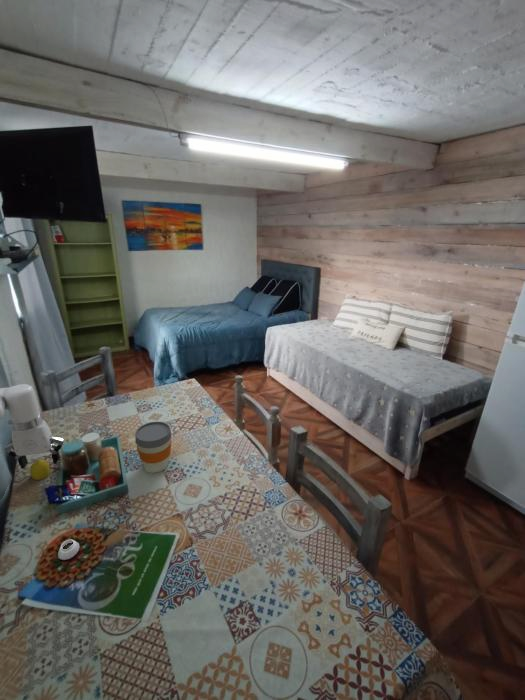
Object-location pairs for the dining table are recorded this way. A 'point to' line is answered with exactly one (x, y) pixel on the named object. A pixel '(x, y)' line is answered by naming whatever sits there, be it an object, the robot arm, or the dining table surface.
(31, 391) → the robot arm
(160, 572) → the dining table surface
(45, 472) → the lemon
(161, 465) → the reusable coffee cup
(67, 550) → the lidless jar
